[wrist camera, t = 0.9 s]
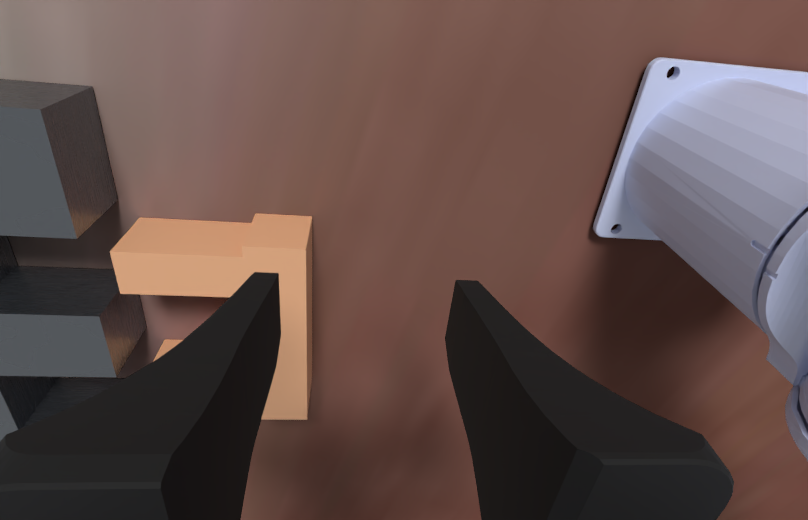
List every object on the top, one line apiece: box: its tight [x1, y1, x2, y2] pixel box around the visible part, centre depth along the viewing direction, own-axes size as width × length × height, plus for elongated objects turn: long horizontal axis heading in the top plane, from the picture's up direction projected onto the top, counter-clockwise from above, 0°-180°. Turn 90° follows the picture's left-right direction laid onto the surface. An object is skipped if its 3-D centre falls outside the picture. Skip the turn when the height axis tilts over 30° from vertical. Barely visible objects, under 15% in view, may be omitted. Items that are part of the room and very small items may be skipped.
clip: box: [110, 213, 312, 420], centre depth 23 cm, size 8×10×3 cm
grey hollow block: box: [0, 79, 146, 441], centre depth 21 cm, size 6×20×4 cm, turn 174°
